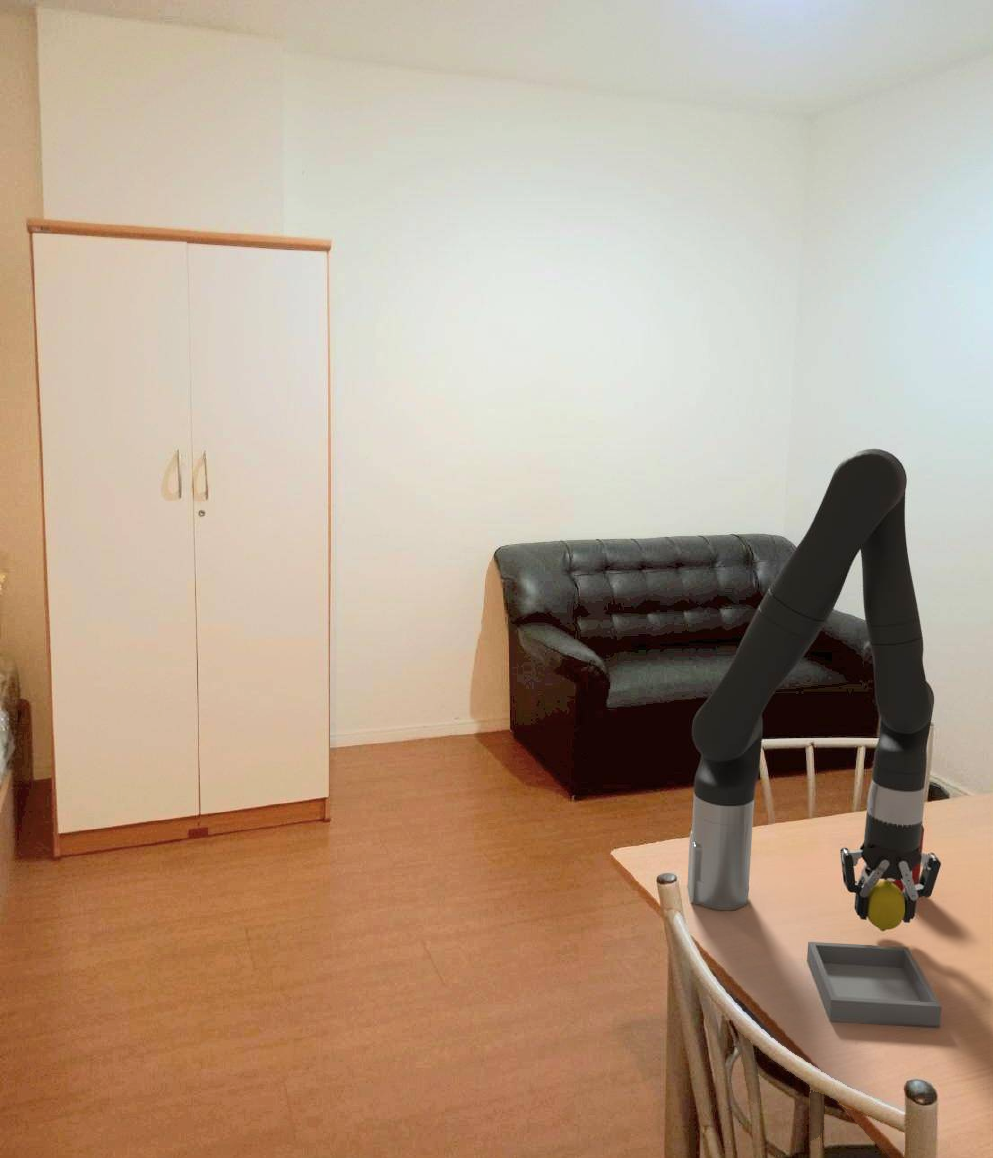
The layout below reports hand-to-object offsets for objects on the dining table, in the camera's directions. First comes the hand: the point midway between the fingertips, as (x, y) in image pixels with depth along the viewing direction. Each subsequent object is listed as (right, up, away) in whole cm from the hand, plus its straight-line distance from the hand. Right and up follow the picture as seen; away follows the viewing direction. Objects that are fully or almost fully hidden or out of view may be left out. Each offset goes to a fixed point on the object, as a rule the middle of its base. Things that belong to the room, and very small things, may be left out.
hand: (883, 918), depth 146 cm
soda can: (+9, 0, +15) cm, 17 cm away
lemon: (0, -2, 0) cm, 2 cm away
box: (-7, -5, -13) cm, 16 cm away
